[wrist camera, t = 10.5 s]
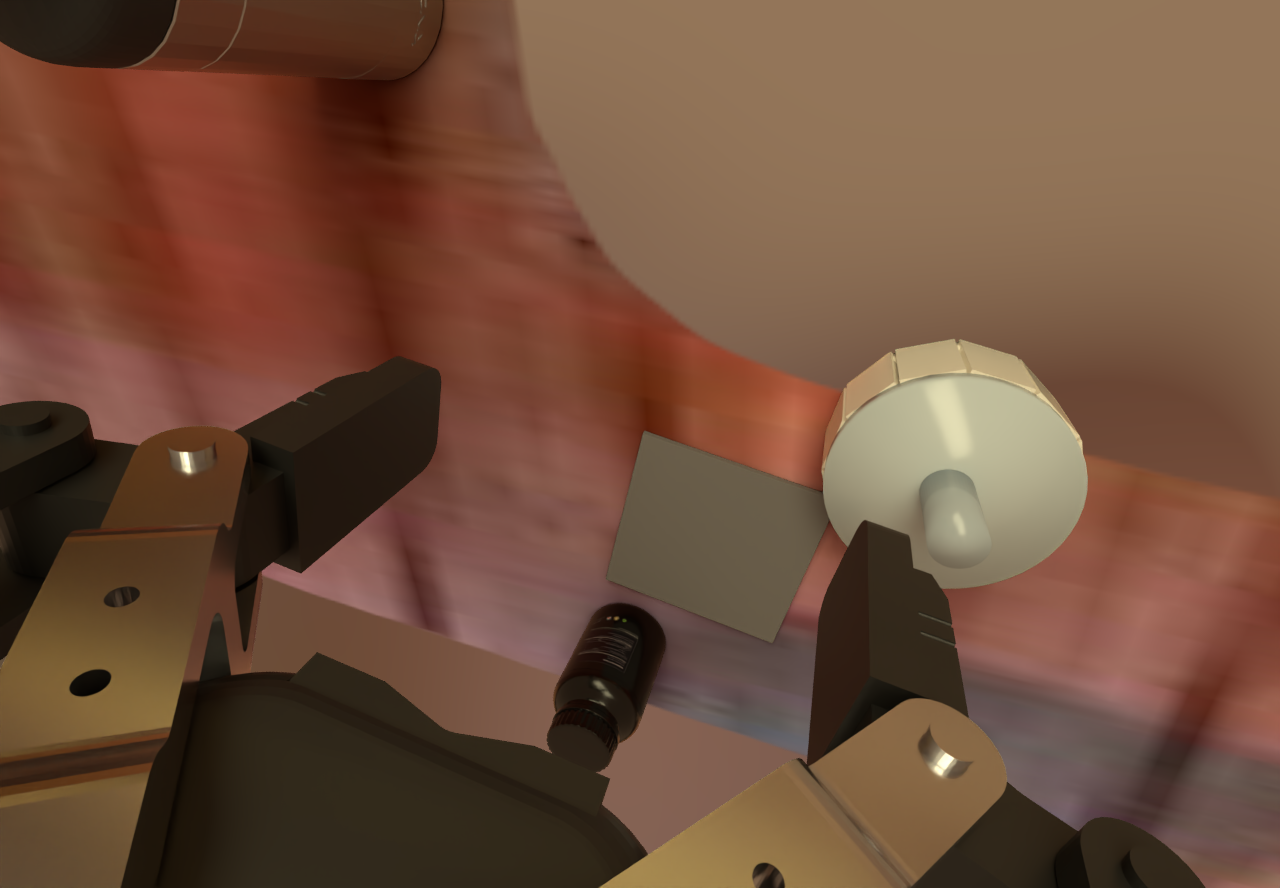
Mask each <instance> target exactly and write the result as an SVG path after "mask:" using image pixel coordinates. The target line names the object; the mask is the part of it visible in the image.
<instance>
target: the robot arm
mask: <svg viewBox="0 0 1280 888" xmlns="http://www.w3.org/2000/svg"><path fill="white" fill-rule="evenodd" d="M442 11H443V0H0V41H1V42H2V43H4V44H5V45H7V46H9V47H10V48H12V49H14V50H16V51H18V52H20V53H22V54H25V55H27V56H30V57H32V58H35V59H38V60H41V61H45V62H48V63H52V64H58V65H66V66H74V67H90V68H118V69H136V70H159V71H181V72H184V71H190V72H212V73H234V74H256V75H278V76H300V77H322V78H340V79H364V80H395V79H398V78H402V77H405V76H407V75H408V74H410V73H412V72H413V71H415V70H417V68H418V67H419V66H420V65H421V64H422V63H423V62H424V61H425V60H426V59H427V57H428V55H429V54H430V52H431V50H432V48H433V47H434V45H435V42H436V39H437V36H438V33H439V30H440V26H441V18H442ZM440 392H441V376H440V373H439V371H438V370H437V369H435V368H432V367H429V366H427V365H424V364H421V363H418V362H415V361H412V360H409V359H406V358H404V357H400V356H398V357H394V358H392V359H390V360H388V361H387V362H385V363H383V364H381V365H379V366H378V367H376V368H374V369H372V370H370V371H368V372H365V371H364V372H359V373H355V374H351V375H346V376H342V377H337V378H335V379H333V380H331V381H329V382H327V383H325V384H323V385H322V386H320V387H318V388H316V389H315V390H314V392H311V391H310V392H308V393H306V394H304V395H302V396H301V397H299V398H297V400H296V402H294V401H291V402H289V403H287V404H285V405H283V406H282V407H280V408H278V409H276V410H274V411H272V412H270V413H268V414H266V415H264V416H263V417H261V418H259V419H257V420H255V421H253V422H251V423H249V424H247V425H245V426H243V427H242V428H240V429H238V430H236V431H231V430H228V429H224V428H220V427H212V426H189V427H181V428H176V429H171V430H167V431H164V432H161V433H159V434H156V435H154V436H152V437H150V438H148V439H146V440H145V441H143V442H142V443H141V444H140V445H132V444H125V443H118V442H111V441H104V440H97V439H94V437H93V433H92V429H91V425H90V421H89V417H88V415H87V414H86V412H85V411H83V410H82V409H80V408H78V407H76V406H74V405H70V404H66V403H61V402H52V401H29V402H19V403H12V404H7V405H2V406H0V660H1V659H3V658H4V657H5V656H7V657H6V659H5V661H4V663H3V665H2V667H1V669H0V888H1205V886H1204V885H1203V884H1202V882H1201V881H1200V879H1199V878H1198V877H1197V876H1196V875H1195V873H1194V872H1193V871H1192V870H1191V869H1190V868H1189V866H1188V865H1187V864H1186V863H1185V862H1184V861H1183V860H1182V859H1181V858H1180V857H1179V856H1178V855H1176V854H1175V853H1174V852H1173V851H1172V850H1171V849H1169V848H1168V847H1167V846H1166V845H1165V844H1163V843H1162V842H1161V841H1159V840H1158V839H1157V838H1155V837H1154V836H1152V835H1151V834H1149V833H1147V832H1146V831H1144V830H1142V829H1140V828H1138V827H1136V826H1135V825H1133V824H1130V823H1128V822H1125V821H1122V820H1119V819H1114V818H1108V817H1100V818H1095V819H1093V820H1091V821H1089V822H1087V823H1086V824H1085V825H1084V826H1083V827H1082V828H1081V829H1080V830H1079V831H1076V830H1075V829H1073V828H1072V827H1070V826H1069V825H1067V824H1066V823H1064V822H1063V821H1061V820H1060V819H1058V818H1057V817H1055V816H1054V815H1052V814H1051V813H1049V812H1048V811H1046V810H1045V809H1043V808H1042V807H1040V806H1039V805H1037V804H1036V803H1035V802H1033V801H1032V800H1030V799H1029V798H1027V797H1026V796H1024V795H1023V794H1022V793H1020V792H1019V791H1017V790H1016V789H1015V788H1014V787H1013V786H1012V785H1010V784H1009V783H1008V782H1007V775H1006V769H1005V766H1004V763H1003V760H1002V758H1001V756H1000V754H999V752H998V750H997V749H996V747H995V746H994V744H993V743H992V741H991V740H990V739H989V738H988V736H987V735H986V734H985V733H984V732H983V731H982V730H981V729H980V728H979V727H978V726H977V725H976V724H975V723H974V722H972V721H971V720H970V719H969V716H968V711H967V705H966V699H965V694H964V688H963V682H962V676H961V671H960V665H959V659H958V654H957V648H954V647H955V644H956V642H955V636H954V631H953V628H951V625H952V619H951V614H950V608H949V602H948V599H947V597H946V596H945V594H944V592H943V591H942V589H941V588H940V586H939V585H938V583H937V582H936V580H935V579H934V577H933V576H932V574H929V573H927V572H924V571H921V570H918V569H915V568H913V559H912V550H911V541H910V537H909V535H908V534H905V533H902V532H899V531H896V530H893V529H890V528H888V527H885V526H882V525H879V524H876V523H873V522H870V521H867V520H864V521H862V522H861V524H860V525H859V527H858V528H857V530H856V532H855V534H854V536H853V538H852V540H851V542H850V544H849V546H848V548H847V550H846V552H845V554H844V556H843V558H842V560H841V562H840V564H839V566H838V568H837V570H836V573H835V575H834V577H833V579H832V581H831V583H830V585H829V587H828V589H827V592H826V594H825V597H824V600H823V603H822V607H821V611H820V615H819V622H818V634H817V646H816V659H815V671H814V683H813V696H812V708H811V720H810V732H809V745H808V757H807V765H806V763H805V762H804V761H803V760H802V759H800V758H798V759H794V760H791V761H789V762H787V763H785V764H784V765H782V766H781V767H779V768H778V769H776V770H775V771H773V772H772V773H770V774H769V775H767V776H766V777H764V778H763V779H761V780H760V781H758V782H757V783H755V784H754V785H752V786H751V787H749V788H748V789H746V790H745V791H743V792H742V793H740V794H739V795H737V796H736V797H734V798H733V799H731V800H730V801H728V802H727V803H725V804H724V805H722V806H721V807H719V808H718V809H716V810H715V811H713V812H712V813H710V814H709V815H707V816H706V817H704V818H703V819H701V820H700V821H698V822H697V823H695V824H694V825H692V826H691V827H689V828H688V829H686V830H685V831H683V832H682V833H680V834H679V835H677V836H676V837H674V838H673V839H671V840H670V841H668V842H667V843H665V844H664V845H662V846H661V847H659V848H658V849H656V850H655V851H653V852H652V853H650V854H649V855H648V854H647V852H646V850H645V849H644V847H643V846H642V845H641V844H640V842H639V841H638V840H637V839H636V837H635V836H634V835H633V833H632V832H631V831H630V830H629V829H628V828H627V827H626V826H625V825H624V824H623V823H622V822H621V821H620V820H619V819H618V818H617V817H616V816H615V815H614V814H613V813H611V812H610V811H609V810H608V809H606V808H605V807H604V806H603V805H602V802H603V799H604V796H605V792H606V790H607V787H608V784H609V780H610V779H609V778H607V777H605V776H603V775H600V774H598V773H596V772H593V771H591V770H589V769H586V768H584V767H582V766H579V765H577V764H575V763H572V762H570V761H568V760H565V759H563V758H561V757H559V756H556V755H554V754H551V753H549V752H547V751H545V750H542V749H540V748H538V747H535V746H531V745H525V744H519V743H513V742H507V741H500V740H495V739H489V738H483V737H477V736H471V735H465V734H458V733H453V732H450V731H447V730H445V729H443V728H442V727H440V726H439V725H438V724H437V723H435V722H434V721H433V720H432V719H430V718H429V717H428V716H427V715H425V714H424V713H423V712H422V711H421V710H419V709H418V708H417V707H415V706H414V705H413V704H412V703H411V702H409V701H408V700H407V699H406V698H405V697H403V696H402V695H401V694H399V692H397V691H396V690H395V689H393V688H392V687H391V686H390V685H388V684H387V683H386V682H385V681H382V680H380V679H378V678H375V677H373V676H371V675H368V674H366V673H364V672H362V671H359V670H357V669H355V668H352V667H350V666H348V665H345V664H343V663H341V662H338V661H336V660H334V659H331V658H329V657H327V656H324V655H322V654H320V653H318V652H317V653H316V654H315V655H314V656H313V657H312V658H311V659H310V660H309V661H308V662H307V663H306V664H305V665H304V666H303V667H302V668H301V669H300V670H299V671H298V672H297V673H296V674H295V673H286V672H285V673H284V672H255V673H250V671H251V663H252V656H253V649H254V642H255V635H256V628H257V621H258V614H259V607H260V600H261V593H262V585H263V580H262V570H263V569H265V568H266V567H267V566H269V565H270V564H271V563H272V562H274V563H277V564H279V565H282V566H284V567H287V568H289V569H291V570H294V571H296V572H299V573H302V572H303V571H304V570H306V569H307V568H308V567H309V566H310V565H312V564H313V563H314V562H315V561H316V560H318V559H319V558H320V557H321V556H322V555H323V554H325V553H326V552H327V551H328V550H329V549H331V548H332V547H333V546H334V545H335V544H337V543H338V542H339V541H340V540H341V539H342V538H344V537H345V536H346V535H347V534H348V533H350V532H351V531H352V530H353V529H354V528H356V527H357V526H358V525H359V524H360V523H361V522H363V521H364V520H365V519H366V518H367V517H369V516H370V515H371V514H372V513H373V512H375V511H376V510H377V509H378V508H379V507H380V506H382V505H383V504H384V503H385V502H386V501H388V500H389V499H390V498H391V497H392V496H394V495H395V494H396V493H397V492H398V491H399V490H401V489H402V488H403V487H404V486H405V485H407V484H408V483H409V482H410V481H411V480H413V479H414V478H415V477H416V476H417V475H418V474H420V473H421V472H422V471H423V470H424V469H425V468H426V467H427V465H428V464H429V462H430V460H431V459H432V456H433V454H434V452H435V448H436V444H437V436H438V421H439V407H440Z"/></svg>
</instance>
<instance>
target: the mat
mask: <svg viewBox="0 0 1280 888" xmlns="http://www.w3.org/2000/svg"><path fill="white" fill-rule="evenodd" d="M829 520H830V519H829V517H828V514H827V510H826V507H825V503H824V495H823V492H820V491H817V490H814V489H811V488H808V487H805V486H803V485H800V484H797V483H794V482H791V481H788V480H785V479H782V478H779V477H777V476H774V475H771V474H768V473H765V472H762V471H759V470H756V469H753V468H751V467H748V466H745V465H742V464H739V463H736V462H733V461H730V460H727V459H725V458H722V457H719V456H716V455H713V454H710V453H707V452H704V451H702V450H699V449H696V448H693V447H690V446H687V445H684V444H681V443H678V442H676V441H673V440H670V439H667V438H664V437H661V436H658V435H655V434H652V433H650V432H647V431H644V433H643V436H642V440H641V444H640V447H639V451H638V455H637V459H636V463H635V467H634V471H633V475H632V479H631V483H630V486H629V490H628V494H627V498H626V502H625V506H624V510H623V514H622V518H621V522H620V525H619V529H618V533H617V537H616V541H615V545H614V549H613V553H612V557H611V561H610V564H609V568H608V572H607V576H606V579H607V580H609V581H612V582H614V583H617V584H620V585H622V586H625V587H627V588H630V589H633V590H635V591H638V592H640V593H643V594H646V595H648V596H651V597H653V598H656V599H659V600H661V601H664V602H666V603H669V604H672V605H674V606H677V607H679V608H682V609H685V610H687V611H690V612H692V613H695V614H698V615H700V616H703V617H705V618H708V619H711V620H713V621H716V622H718V623H721V624H724V625H726V626H729V627H731V628H734V629H737V630H739V631H742V632H744V633H747V634H750V635H752V636H755V637H757V638H760V639H763V640H765V641H768V642H770V643H773V641H774V639H775V637H776V634H777V632H778V630H779V628H780V626H781V624H782V621H783V619H784V617H785V615H786V613H787V611H788V609H789V606H790V604H791V602H792V600H793V598H794V596H795V593H796V591H797V589H798V587H799V585H800V583H801V581H802V578H803V576H804V574H805V572H806V570H807V568H808V565H809V563H810V561H811V559H812V557H813V555H814V553H815V550H816V548H817V546H818V544H819V542H820V540H821V537H822V535H823V533H824V531H825V529H826V527H827V525H828V522H829Z"/></svg>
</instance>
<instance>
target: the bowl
mask: <svg viewBox="0 0 1280 888" xmlns="http://www.w3.org/2000/svg"><path fill="white" fill-rule="evenodd" d="M895 352H896V353H894V354H892V352H889V353H888V354H887V355H885V356H884V357H883V358H881V359H880V360H879V361H877V362H876V363H875V364H873V365H872V366H870V367H869V368H868V369H866V370H865V371H864V372H863V373H861V374H860V375H858V376H857V377H856V378H854V379H853V380H852V381H850V382H849V383H848V384H847V388H844V389H843V391H842V394H841V396H840V398H839V401H838V403H837V406H836V408H835V410H834V413H833V415H832V417H831V420H830V422H829V424H828V427H827V429H826V433H825V443H824V452H823V462H822V471H821V472H822V477H824V468H825V463H826V457H827V455H828V452H829V449H830V446H831V444H832V442H833V440H834V438H835V436H836V434H837V432H838V431H839V429H840V428H841V427H842V425H843V424H844V422H845V421H846V420H847V419H848V418H849V417H850V416H851V415H852V414H853V413H854V411H855V410H857V409H858V408H859V407H860V406H861V405H863V404H864V403H865V402H866V401H867V400H869V399H871V398H872V397H874V396H875V395H877V394H878V393H880V392H882V391H884V390H886V389H888V388H890V387H892V386H894V385H896V384H899V383H902V382H905V381H908V380H911V379H914V378H918V377H923V376H927V375H933V374H942V373H972V374H980V375H987V376H991V377H995V378H999V379H1003V380H1006V381H1008V382H1011V383H1014V384H1017V385H1019V386H1021V387H1023V388H1025V389H1027V390H1029V391H1030V392H1032V393H1034V394H1036V395H1037V396H1038V397H1040V398H1041V399H1043V400H1044V401H1045V402H1047V403H1048V404H1049V405H1050V406H1051V407H1052V408H1053V409H1054V410H1055V411H1056V412H1057V413H1058V414H1059V415H1060V416H1061V417H1062V419H1063V420H1064V421H1065V423H1066V424H1067V425H1068V427H1069V428H1070V430H1071V431H1072V433H1073V434H1074V436H1075V438H1076V440H1077V442H1078V444H1079V446H1080V448H1081V450H1082V441H1081V439H1080V436H1079V434H1078V433H1077V431H1076V430H1075V428H1074V427H1073V425H1072V424H1071V422H1070V420H1069V419H1068V417H1067V416H1066V414H1065V413H1064V411H1063V410H1062V408H1061V407H1060V405H1059V404H1058V402H1057V401H1056V399H1055V398H1054V397H1053V396H1052V395H1051V393H1050V392H1049V391H1048V390H1047V389H1046V388H1045V387H1044V385H1043V384H1042V383H1041V382H1040V381H1039V380H1038V379H1037V377H1036V376H1035V375H1034V374H1033V373H1032V372H1031V371H1030V370H1029V368H1028V367H1027V366H1026V365H1025V364H1024V363H1023V361H1022V360H1018V358H1017V357H1016V356H1013V355H1010V354H1007V353H1003V352H1000V351H997V350H993V349H990V348H987V347H984V346H980V345H977V344H974V343H970V342H967V341H964V340H960V339H959V342H955V339H952V340H946V341H940V342H935V343H929V344H923V345H918V346H912V347H907V348H901V349H896V350H895ZM1082 453H1083V452H1082Z"/></svg>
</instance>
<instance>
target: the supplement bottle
mask: <svg viewBox="0 0 1280 888" xmlns="http://www.w3.org/2000/svg"><path fill="white" fill-rule="evenodd" d="M665 647H666V641H665V635H664V632H663V630H662V628H661V626H660V625H659V623H658V622H657V621H656V620H655V619H654V618H653V617H652V616H651V615H650V614H649V613H647V612H646V611H644V610H642V609H641V608H638V607H636V606H633V605H629V604H623V603H617V604H610V605H607V606H604V607H602V608H601V609H599V610H598V611H597V612H596V613H595V614H594V615H593V616H592V618H591V620H590V621H589V623H588V625H587V627H586V629H585V631H584V633H583V635H582V637H581V638H580V640H579V642H578V644H577V646H576V648H575V650H574V652H573V654H572V656H571V658H570V660H569V662H568V663H567V665H566V667H565V669H564V671H563V673H562V675H561V677H560V679H559V681H558V683H557V685H556V687H555V690H554V697H553V701H554V708H555V711H556V714H555V716H554V718H553V721H552V725H551V727H550V729H549V731H548V733H547V742H548V746H549V749H550V750H551V752H552V754H554V755H556V756H559V757H561V758H563V759H565V760H568V761H570V762H572V763H575V764H577V765H579V766H582V767H584V768H586V769H589V770H591V771H593V772H600V771H601V770H603V769H605V768H606V767H607V766H608V765H609V763H610V761H611V759H612V757H613V754H614V752H615V750H616V749H617V746H618V743H621V742H623V741H625V740H627V739H628V738H629V737H631V736H632V735H633V734H634V733H635V731H636V730H637V728H638V726H639V723H640V721H641V718H642V715H643V713H644V709H645V707H646V704H647V701H648V698H649V695H650V693H651V690H652V687H653V684H654V681H655V678H656V676H657V673H658V670H659V667H660V664H661V661H662V658H663V655H664V652H665Z"/></svg>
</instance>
